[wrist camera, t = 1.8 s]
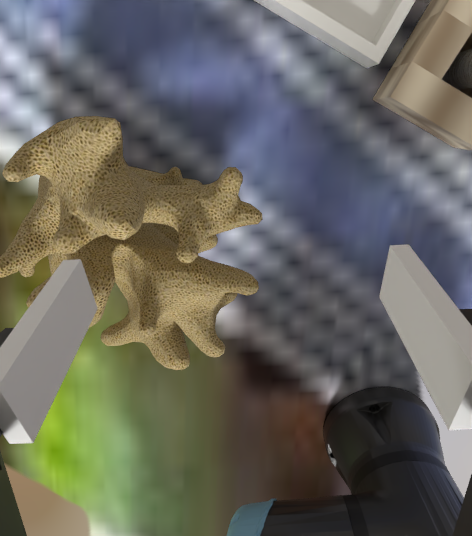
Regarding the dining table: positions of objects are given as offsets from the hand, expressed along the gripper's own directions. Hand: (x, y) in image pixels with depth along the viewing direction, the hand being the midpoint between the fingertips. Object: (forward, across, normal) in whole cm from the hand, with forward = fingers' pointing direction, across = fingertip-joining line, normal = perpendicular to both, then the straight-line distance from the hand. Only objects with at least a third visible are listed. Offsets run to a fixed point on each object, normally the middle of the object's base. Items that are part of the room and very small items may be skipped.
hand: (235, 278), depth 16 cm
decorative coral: (+24, +10, +11) cm, 28 cm away
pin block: (+26, -20, -4) cm, 34 cm away
